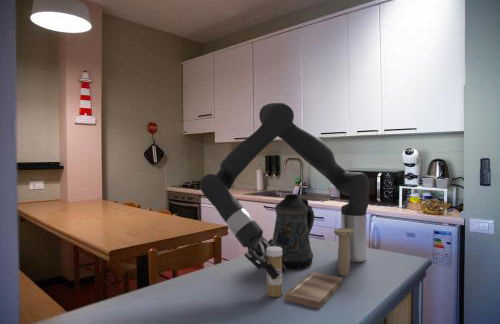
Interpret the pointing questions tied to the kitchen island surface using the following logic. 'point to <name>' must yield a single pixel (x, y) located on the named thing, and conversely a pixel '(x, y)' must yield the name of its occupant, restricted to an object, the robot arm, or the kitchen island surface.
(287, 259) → the beer stein
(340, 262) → the handle
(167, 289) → the kitchen island surface
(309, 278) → the walnut board
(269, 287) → the sprinkles bottle
